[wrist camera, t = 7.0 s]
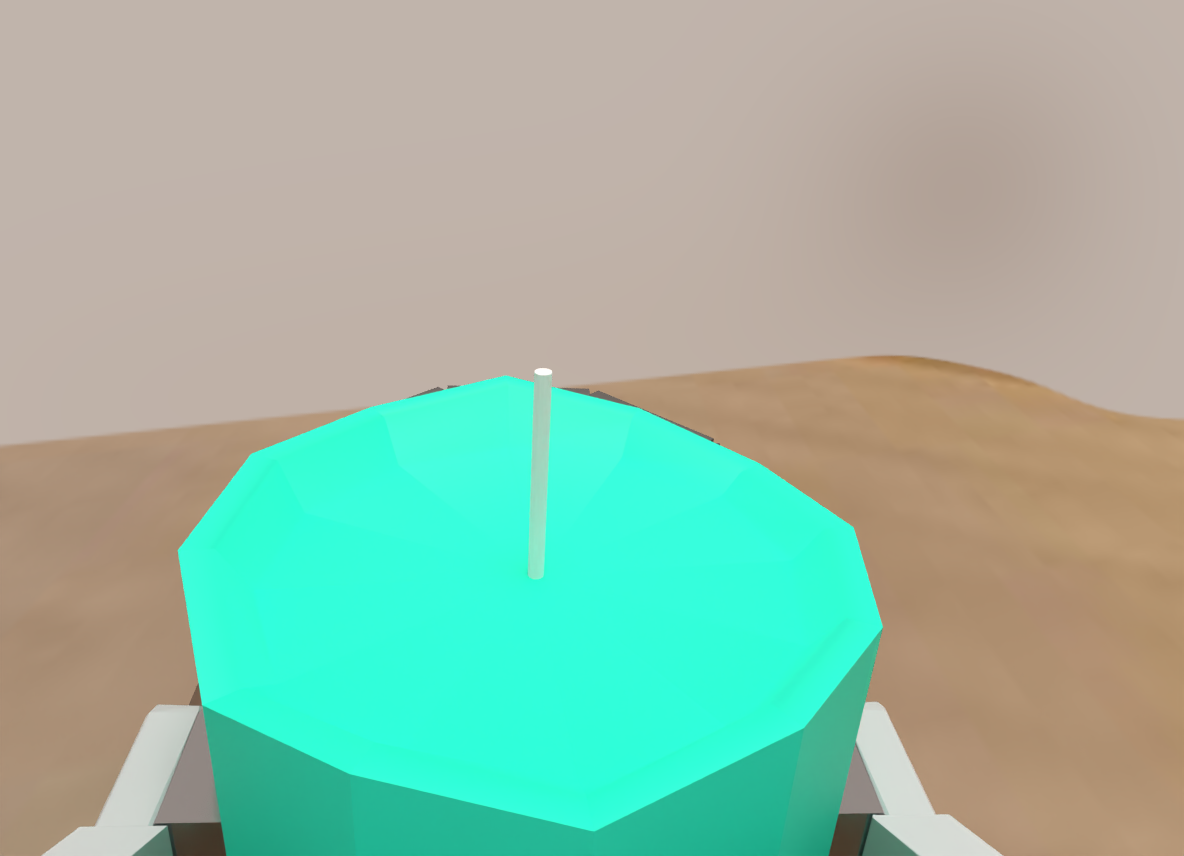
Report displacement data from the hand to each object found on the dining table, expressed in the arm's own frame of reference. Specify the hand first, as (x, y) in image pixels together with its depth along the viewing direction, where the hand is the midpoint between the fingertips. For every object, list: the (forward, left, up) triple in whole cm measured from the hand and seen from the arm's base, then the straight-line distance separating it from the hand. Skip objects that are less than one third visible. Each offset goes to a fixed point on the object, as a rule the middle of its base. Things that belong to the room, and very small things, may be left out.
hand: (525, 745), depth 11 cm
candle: (0, -1, -7) cm, 7 cm away
